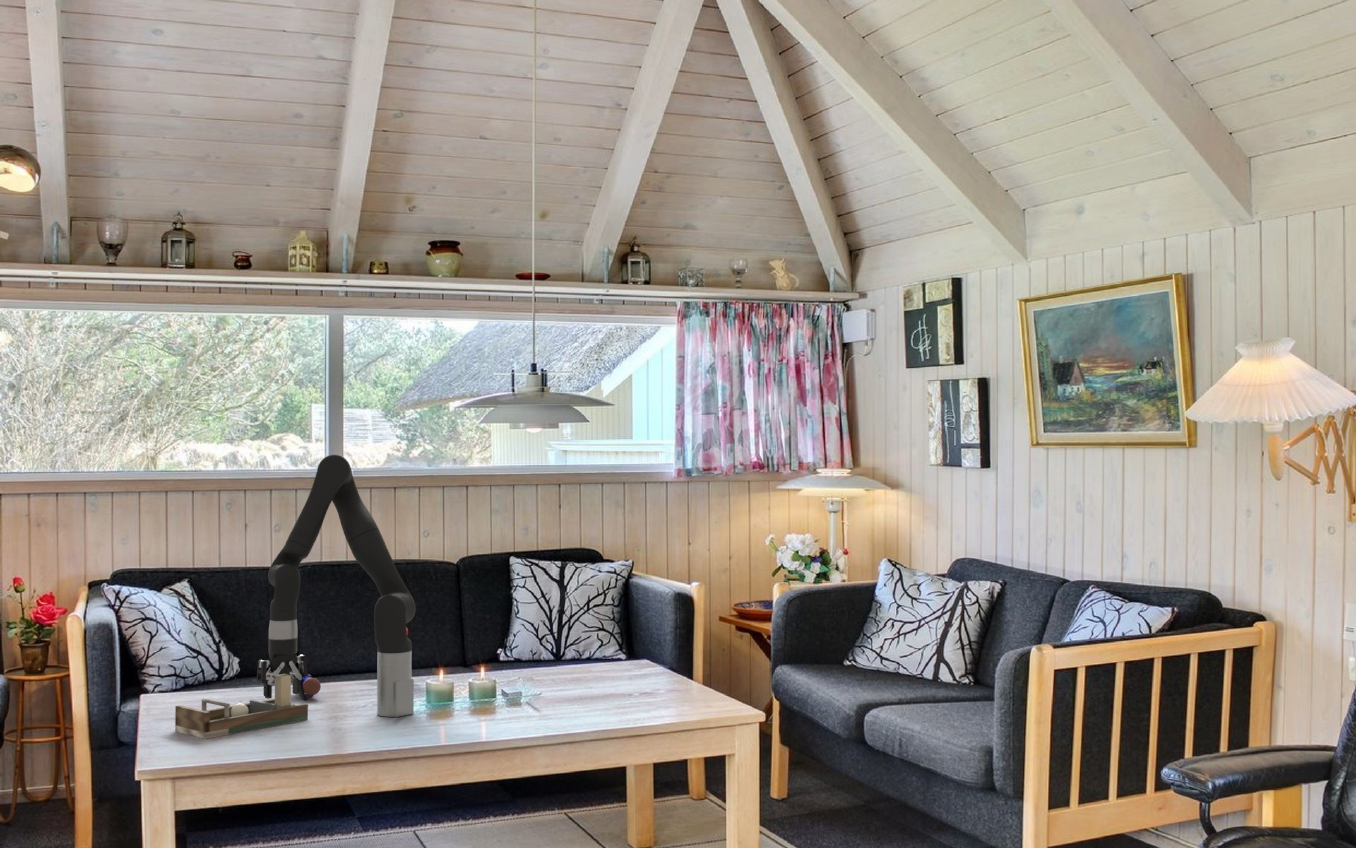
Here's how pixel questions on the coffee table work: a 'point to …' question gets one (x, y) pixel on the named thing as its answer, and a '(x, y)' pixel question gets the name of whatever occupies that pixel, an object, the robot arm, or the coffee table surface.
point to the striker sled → (276, 696)
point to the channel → (232, 719)
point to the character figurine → (309, 686)
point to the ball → (239, 710)
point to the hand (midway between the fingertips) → (282, 696)
